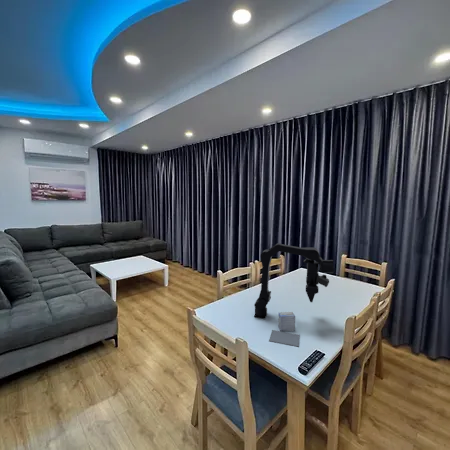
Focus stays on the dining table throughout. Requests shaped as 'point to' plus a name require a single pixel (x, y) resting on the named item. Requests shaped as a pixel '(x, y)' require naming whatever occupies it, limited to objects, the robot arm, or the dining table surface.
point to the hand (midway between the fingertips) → (311, 298)
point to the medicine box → (286, 321)
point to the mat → (284, 338)
